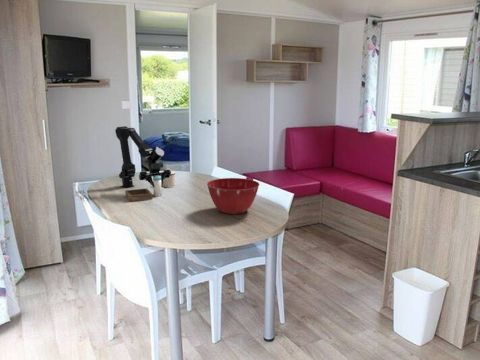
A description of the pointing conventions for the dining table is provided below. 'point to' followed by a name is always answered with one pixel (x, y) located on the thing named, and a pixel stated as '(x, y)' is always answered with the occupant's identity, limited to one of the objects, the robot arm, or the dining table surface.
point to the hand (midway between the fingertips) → (157, 186)
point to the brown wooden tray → (138, 195)
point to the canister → (157, 186)
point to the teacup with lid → (169, 180)
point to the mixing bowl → (233, 194)
